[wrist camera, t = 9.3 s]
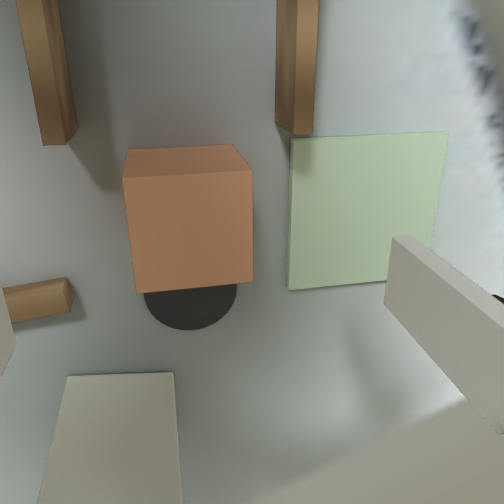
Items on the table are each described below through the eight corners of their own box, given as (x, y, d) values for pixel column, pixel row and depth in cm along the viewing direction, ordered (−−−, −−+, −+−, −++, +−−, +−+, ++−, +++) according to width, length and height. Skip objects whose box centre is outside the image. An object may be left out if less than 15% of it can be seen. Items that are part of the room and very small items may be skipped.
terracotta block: (127, 149, 27) (121, 178, 21) (232, 143, 28) (252, 170, 22) (139, 246, 29) (136, 293, 24) (234, 237, 30) (253, 281, 25)
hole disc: (139, 251, 29) (139, 253, 29) (234, 243, 30) (235, 245, 30) (148, 332, 32) (148, 334, 31) (236, 322, 33) (237, 324, 32)
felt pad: (290, 138, 28) (293, 140, 27) (443, 131, 30) (449, 133, 29) (286, 285, 32) (288, 290, 32) (420, 272, 34) (424, 276, 33)
